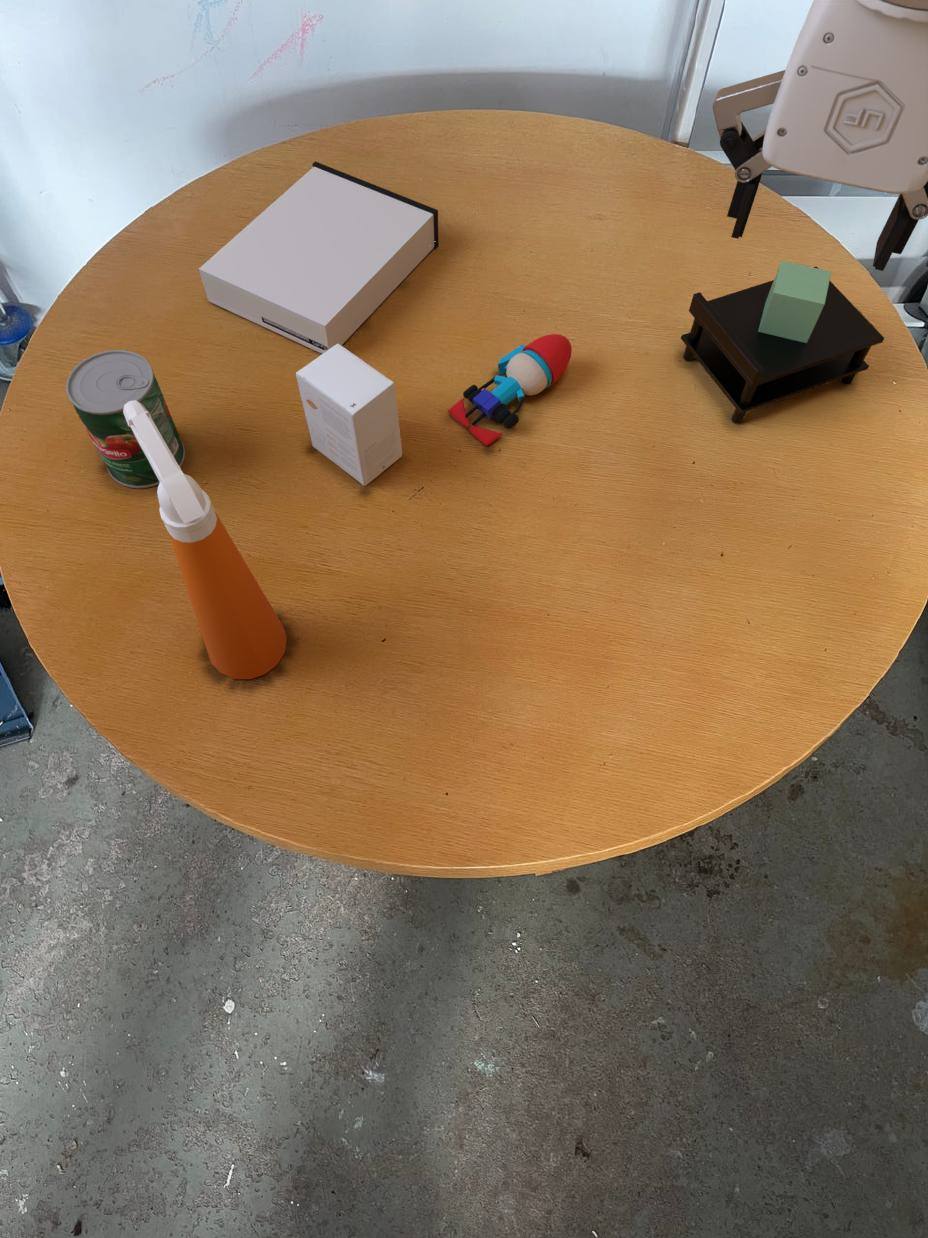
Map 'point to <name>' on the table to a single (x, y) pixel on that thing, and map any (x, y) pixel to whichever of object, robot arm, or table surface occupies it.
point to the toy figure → (515, 383)
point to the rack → (775, 347)
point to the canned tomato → (121, 412)
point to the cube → (795, 301)
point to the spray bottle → (211, 566)
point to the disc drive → (321, 257)
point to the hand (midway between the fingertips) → (808, 241)
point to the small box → (351, 413)
